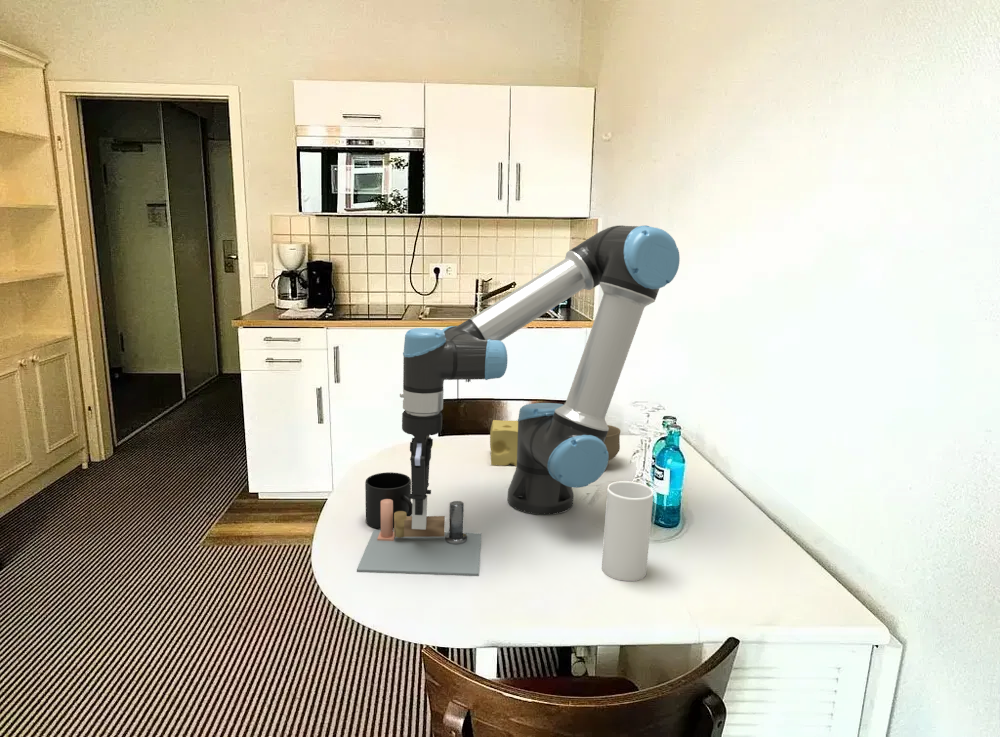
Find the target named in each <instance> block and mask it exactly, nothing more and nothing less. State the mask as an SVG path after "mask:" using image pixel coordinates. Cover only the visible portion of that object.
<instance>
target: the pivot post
mask: <svg viewBox="0 0 1000 737" xmlns="http://www.w3.org/2000/svg"><path fill="white" fill-rule="evenodd" d="M464 508H465V503H464V502H463V501H460V500H453V501H451V502H449V513H448V514H449V516H448V521H449V523H448V532H449V533H447V534H446V535H445V541H446V542H447V543H449V544H454V545H458V544H463V543H465V542H466V541H467V535H466V534H465V533H466V532H464V515H465V514H464V513H465V512H464V511H465V510H464Z"/></svg>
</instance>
